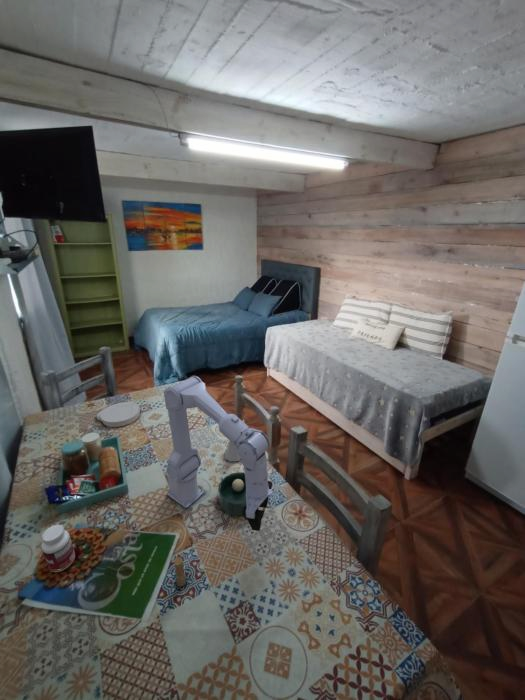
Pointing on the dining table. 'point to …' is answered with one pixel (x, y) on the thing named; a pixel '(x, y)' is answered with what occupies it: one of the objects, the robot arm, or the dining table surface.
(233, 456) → the flask
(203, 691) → the dining table surface
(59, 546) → the pill bottle
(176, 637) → the dining table surface
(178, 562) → the stick
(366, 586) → the dining table surface
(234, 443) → the robot arm
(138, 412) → the lid
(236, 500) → the bowl
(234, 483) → the ball
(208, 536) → the dining table surface
